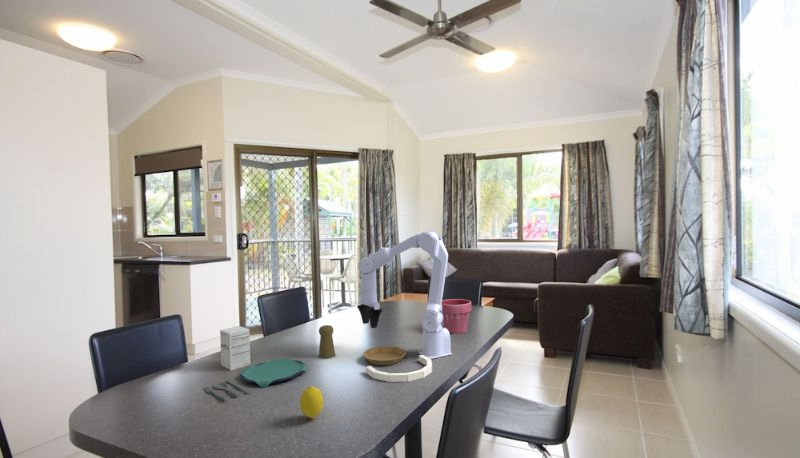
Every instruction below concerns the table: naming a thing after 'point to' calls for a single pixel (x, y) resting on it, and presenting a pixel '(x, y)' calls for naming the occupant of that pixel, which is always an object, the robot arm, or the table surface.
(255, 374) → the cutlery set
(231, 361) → the supplement box
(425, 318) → the robot arm
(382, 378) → the centring cradle
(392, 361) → the plant saucer
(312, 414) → the lemon
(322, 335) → the cork
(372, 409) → the table surface
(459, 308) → the plant pot
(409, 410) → the table surface
